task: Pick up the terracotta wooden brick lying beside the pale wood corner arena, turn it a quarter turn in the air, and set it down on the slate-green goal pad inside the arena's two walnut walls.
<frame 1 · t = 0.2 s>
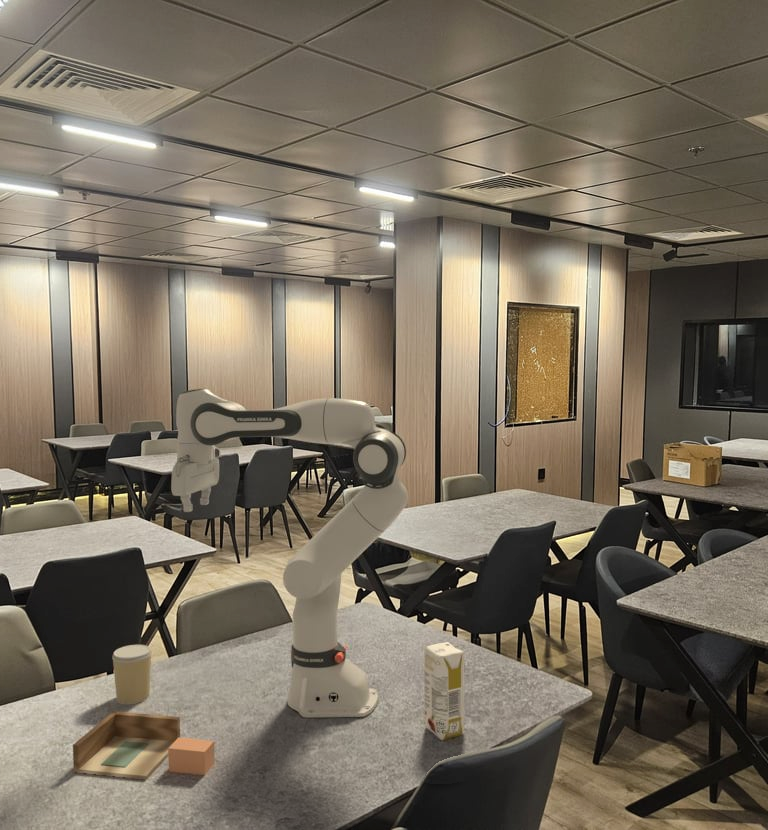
hand: (196, 508, 182), 48 cm above the table, tool pointing down, fingers open, 8 cm apart
coffee cup: (133, 698, 182), on the table
juice carton: (444, 731, 164), on the table
brick: (191, 768, 149), on the table
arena: (129, 756, 154), on the table
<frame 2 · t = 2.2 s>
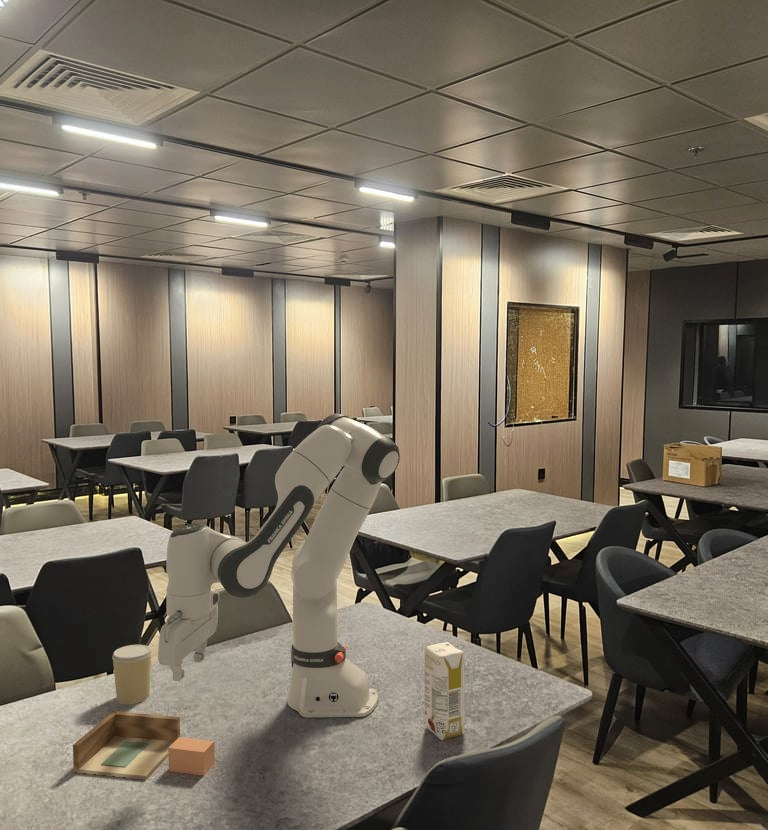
hand: (189, 670, 149), 20 cm above the table, tool pointing down, fingers open, 8 cm apart
nothing on the table moved.
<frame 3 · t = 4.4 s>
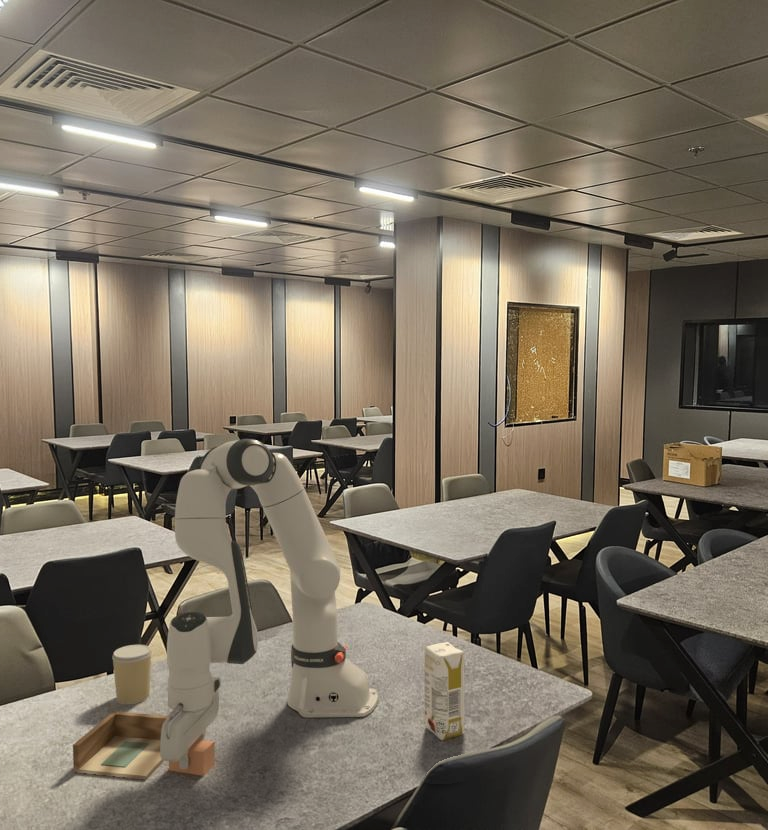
hand: (191, 759, 149), 2 cm above the table, tool pointing down, fingers closed on brick, 5 cm apart
brick: (192, 767, 149), on the table, touching gripper
everything else where it was.
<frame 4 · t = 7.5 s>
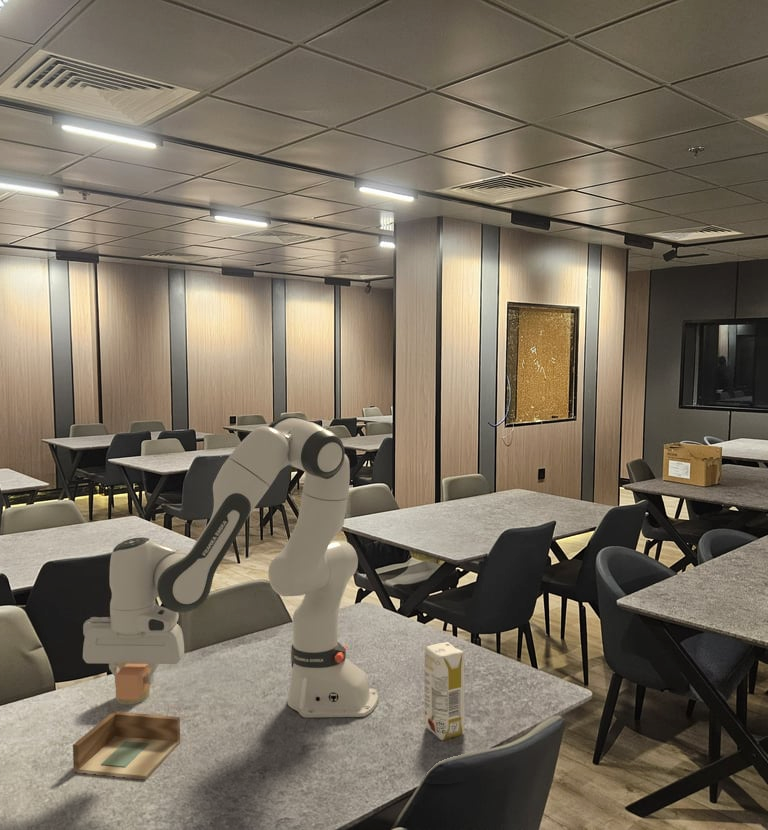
hand: (134, 682, 150), 17 cm above the table, tool pointing down, fingers closed on brick, 5 cm apart
brick: (134, 690, 150), point 16 cm above the table, touching gripper
everything else where it was.
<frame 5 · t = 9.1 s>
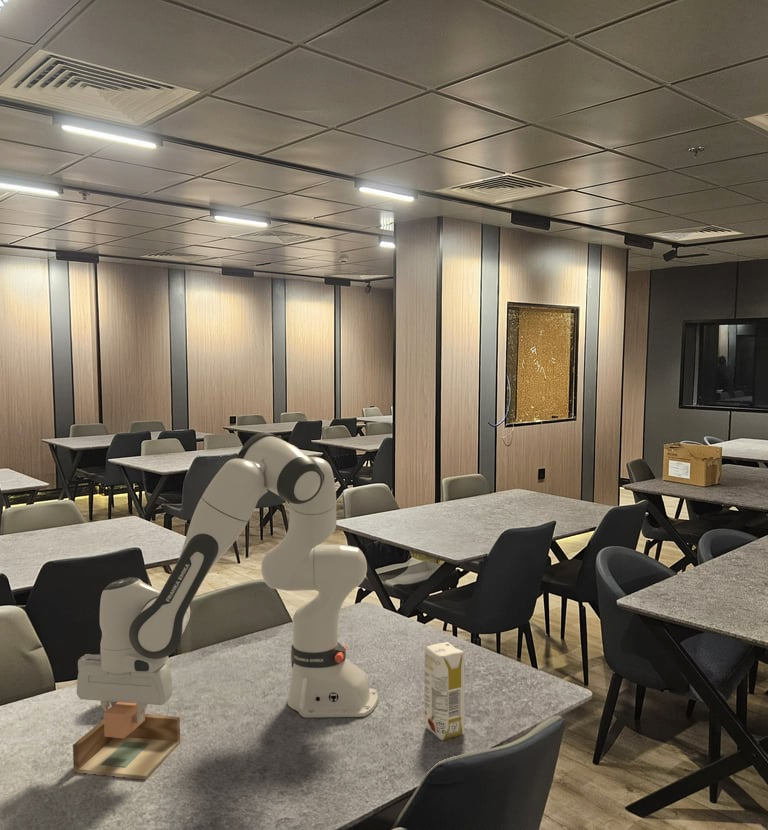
hand: (124, 720, 152), 8 cm above the table, tool pointing down, fingers closed on brick, 5 cm apart
brick: (125, 728, 152), point 7 cm above the table, touching gripper
everything else where it was.
when the fingers open (4 cm above the table, at t = 10.3 s): brick drops 1 cm, resting on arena.
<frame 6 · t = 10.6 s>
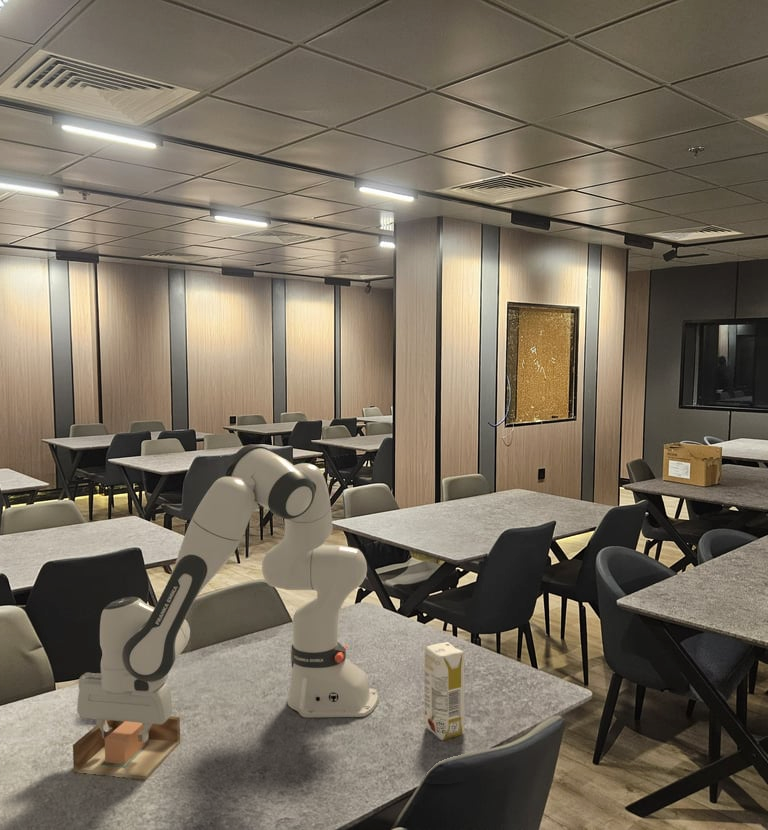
hand: (125, 739, 153), 4 cm above the table, tool pointing down, fingers open, 7 cm apart
brick: (125, 753, 153), point 1 cm above the table, touching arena
everything else where it was.
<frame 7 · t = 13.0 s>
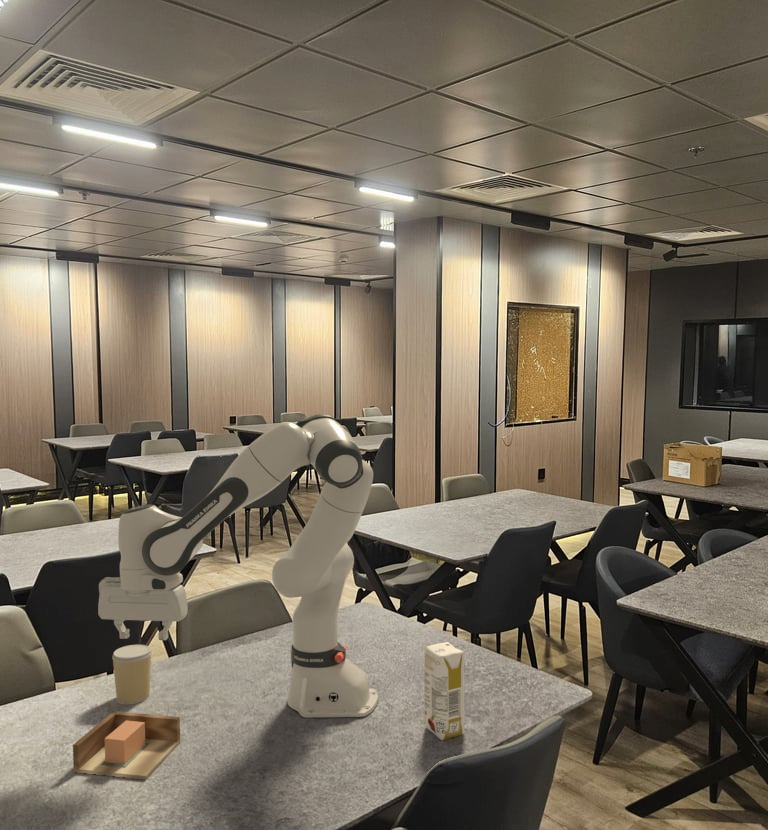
hand: (144, 638, 162), 22 cm above the table, tool pointing down, fingers open, 8 cm apart
nothing on the table moved.
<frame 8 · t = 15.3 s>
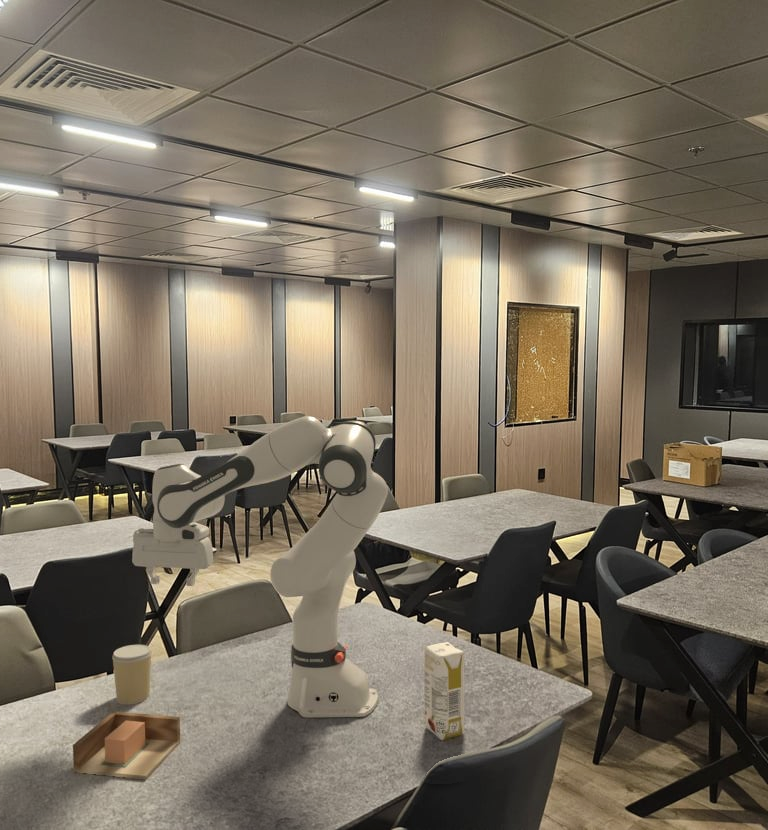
hand: (173, 584, 180), 29 cm above the table, tool pointing down, fingers open, 8 cm apart
nothing on the table moved.
at the end: brick 0.1 cm off-centre on the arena, point 1.0 cm above the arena's base; brick tilted 0°; the gripper is holding nothing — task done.
